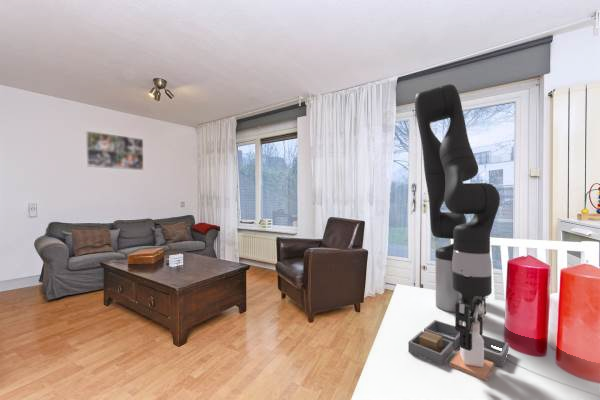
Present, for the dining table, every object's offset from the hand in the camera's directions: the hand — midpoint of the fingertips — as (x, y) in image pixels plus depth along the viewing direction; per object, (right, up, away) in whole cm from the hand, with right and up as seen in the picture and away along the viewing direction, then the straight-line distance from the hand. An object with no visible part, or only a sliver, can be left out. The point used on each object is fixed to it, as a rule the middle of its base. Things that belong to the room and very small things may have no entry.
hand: (471, 341), depth 61 cm
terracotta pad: (0, -6, 0) cm, 6 cm away
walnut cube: (-7, -6, +6) cm, 10 cm away
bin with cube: (-7, -6, +6) cm, 10 cm away
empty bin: (0, -6, +12) cm, 13 cm away
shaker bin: (+7, -6, +5) cm, 10 cm away
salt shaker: (0, -5, 0) cm, 5 cm away
